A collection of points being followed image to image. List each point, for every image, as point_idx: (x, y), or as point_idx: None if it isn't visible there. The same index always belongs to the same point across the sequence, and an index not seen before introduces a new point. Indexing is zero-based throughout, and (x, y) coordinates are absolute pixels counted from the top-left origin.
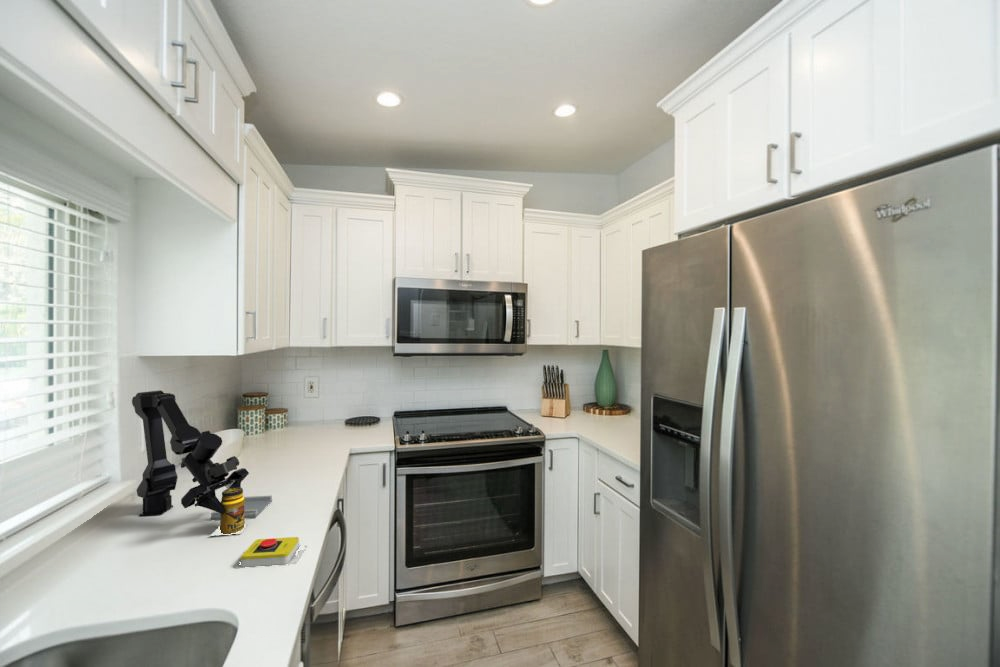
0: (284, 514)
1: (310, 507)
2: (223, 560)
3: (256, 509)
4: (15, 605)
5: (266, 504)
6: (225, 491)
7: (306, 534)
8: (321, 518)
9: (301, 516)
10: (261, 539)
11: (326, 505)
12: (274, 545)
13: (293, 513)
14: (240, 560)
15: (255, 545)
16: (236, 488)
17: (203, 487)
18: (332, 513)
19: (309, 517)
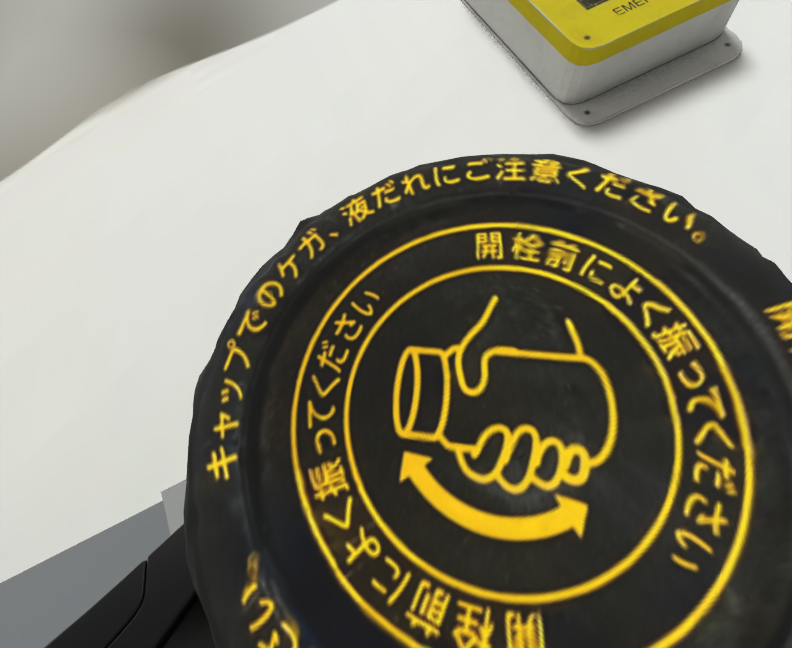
0: (155, 315)
1: (47, 247)
2: (739, 149)
3: (169, 494)
4: None
5: (5, 582)
6: (738, 627)
7: (353, 40)
8: (184, 99)
9: (172, 200)
10: (569, 32)
11: (22, 187)
12: None
13: (136, 273)
14: (689, 73)
15: (636, 3)
16: (304, 452)
17: None
18: (124, 96)
19: (180, 155)
